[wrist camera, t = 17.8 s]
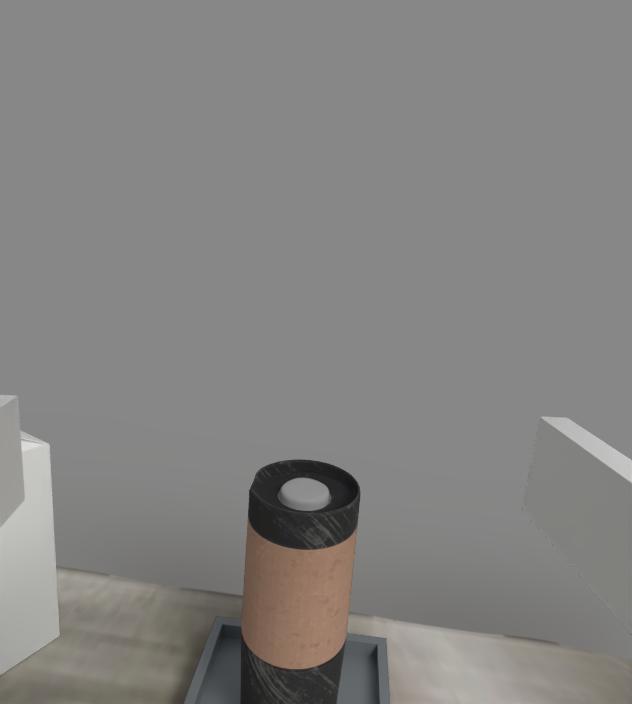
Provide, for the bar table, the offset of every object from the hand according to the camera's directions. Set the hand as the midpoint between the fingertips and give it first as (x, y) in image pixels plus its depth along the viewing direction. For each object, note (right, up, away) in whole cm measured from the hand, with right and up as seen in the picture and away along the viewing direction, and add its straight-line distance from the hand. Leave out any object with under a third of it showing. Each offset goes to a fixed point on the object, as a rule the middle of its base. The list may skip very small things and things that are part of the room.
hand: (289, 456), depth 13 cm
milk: (-27, -23, +32) cm, 48 cm away
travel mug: (-2, -26, +26) cm, 37 cm away
